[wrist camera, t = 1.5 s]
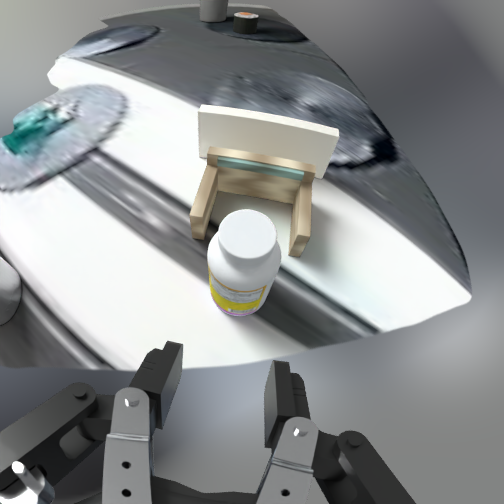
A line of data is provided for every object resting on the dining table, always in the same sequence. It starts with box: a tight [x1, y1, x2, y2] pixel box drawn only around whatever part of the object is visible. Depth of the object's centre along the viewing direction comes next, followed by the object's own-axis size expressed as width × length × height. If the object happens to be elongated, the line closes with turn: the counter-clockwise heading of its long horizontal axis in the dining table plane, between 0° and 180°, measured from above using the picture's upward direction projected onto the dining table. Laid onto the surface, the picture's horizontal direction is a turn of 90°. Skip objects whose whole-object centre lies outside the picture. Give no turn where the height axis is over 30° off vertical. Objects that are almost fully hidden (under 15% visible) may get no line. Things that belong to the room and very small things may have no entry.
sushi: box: [233, 12, 259, 34], centre depth 77 cm, size 8×8×8 cm
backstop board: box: [198, 105, 339, 179], centre depth 41 cm, size 20×2×9 cm, turn 82°
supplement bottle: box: [207, 209, 281, 316], centre depth 28 cm, size 7×7×13 cm
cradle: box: [190, 146, 316, 257], centre depth 36 cm, size 14×10×7 cm
